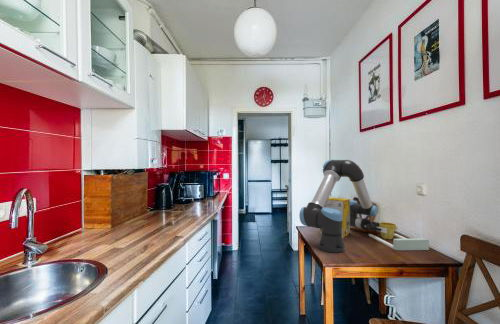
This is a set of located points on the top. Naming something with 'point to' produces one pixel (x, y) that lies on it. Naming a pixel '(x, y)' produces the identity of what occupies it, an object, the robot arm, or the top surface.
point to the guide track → (406, 243)
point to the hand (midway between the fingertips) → (392, 229)
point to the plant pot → (388, 230)
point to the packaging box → (344, 208)
